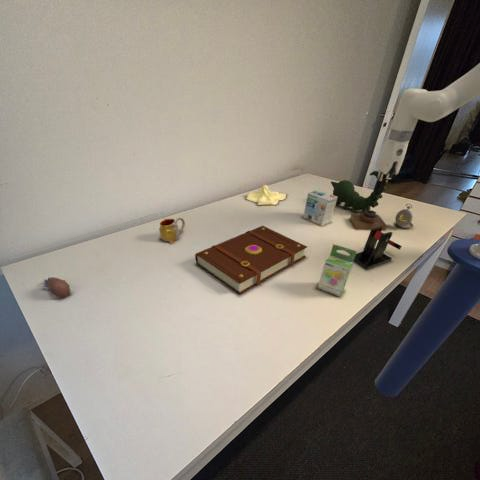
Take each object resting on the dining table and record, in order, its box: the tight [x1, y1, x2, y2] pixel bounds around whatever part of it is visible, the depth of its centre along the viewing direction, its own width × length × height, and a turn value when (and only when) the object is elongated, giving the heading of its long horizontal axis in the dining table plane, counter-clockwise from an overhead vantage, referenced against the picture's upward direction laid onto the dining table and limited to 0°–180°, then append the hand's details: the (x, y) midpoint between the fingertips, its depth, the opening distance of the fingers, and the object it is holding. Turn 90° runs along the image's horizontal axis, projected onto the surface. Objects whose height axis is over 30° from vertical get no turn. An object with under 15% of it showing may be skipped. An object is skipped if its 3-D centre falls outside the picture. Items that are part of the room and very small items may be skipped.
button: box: [365, 209, 377, 218], centre depth 110 cm, size 4×4×2 cm
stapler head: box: [373, 231, 403, 251], centre depth 90 cm, size 13×6×2 cm, turn 119°
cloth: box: [245, 184, 287, 206], centre depth 131 cm, size 22×19×6 cm
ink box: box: [317, 244, 358, 297], centre depth 75 cm, size 7×4×13 cm, turn 56°
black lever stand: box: [353, 227, 394, 271], centre depth 89 cm, size 12×8×11 cm, turn 118°
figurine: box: [40, 276, 71, 299], centre depth 76 cm, size 6×5×12 cm
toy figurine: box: [330, 170, 389, 214], centre depth 119 cm, size 9×19×25 cm
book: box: [194, 225, 308, 295], centre depth 89 cm, size 23×32×5 cm
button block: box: [349, 212, 387, 231], centre depth 112 cm, size 12×10×4 cm
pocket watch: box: [394, 203, 415, 230], centre depth 109 cm, size 8×8×10 cm
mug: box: [158, 217, 186, 244], centre depth 100 cm, size 12×7×7 cm, turn 144°
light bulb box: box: [303, 189, 338, 227], centre depth 112 cm, size 11×7×11 cm, turn 40°
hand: (377, 191), depth 104 cm, fingers closed
